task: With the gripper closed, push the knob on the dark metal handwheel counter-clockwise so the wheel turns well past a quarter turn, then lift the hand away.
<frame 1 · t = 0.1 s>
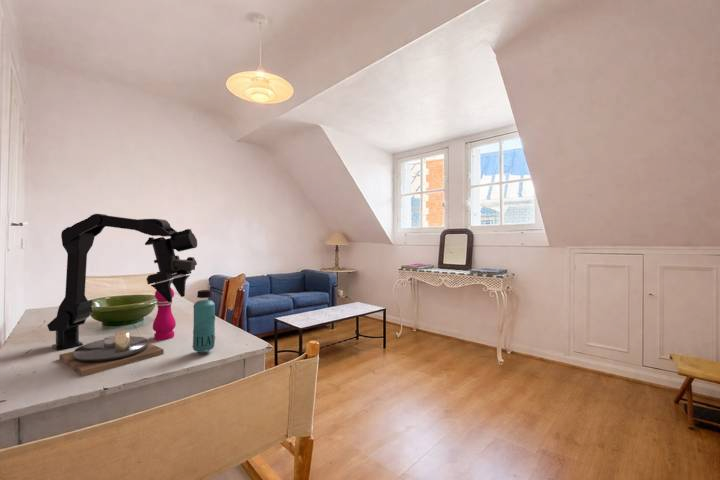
hand: (176, 299, 110), 15 cm above the table, tool pointing down, fingers open, 9 cm apart
handwheel: (112, 339, 98), point 5 cm above the table, hinge at 0.0°
beverage bottle: (203, 353, 103), on the table
wheel mount: (112, 356, 98), on the table
pepper mill: (164, 338, 117), on the table
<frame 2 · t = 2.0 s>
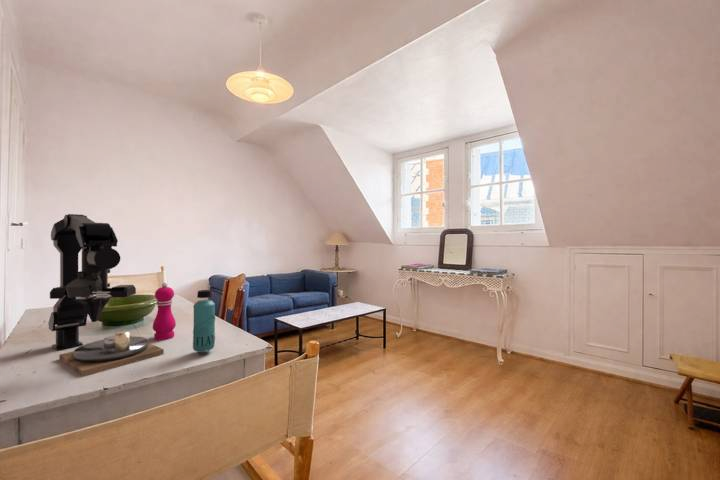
hand: (94, 321, 91), 13 cm above the table, tool pointing down, fingers closed
nothing on the table moved.
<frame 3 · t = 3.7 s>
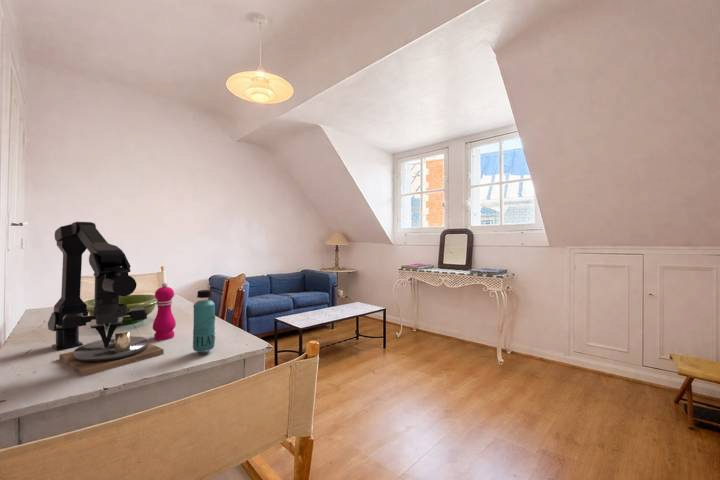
hand: (106, 347, 92), 5 cm above the table, tool pointing down, fingers closed
handwheel: (112, 339, 98), point 5 cm above the table, hinge at 0.8°, touching gripper
everything else where it was.
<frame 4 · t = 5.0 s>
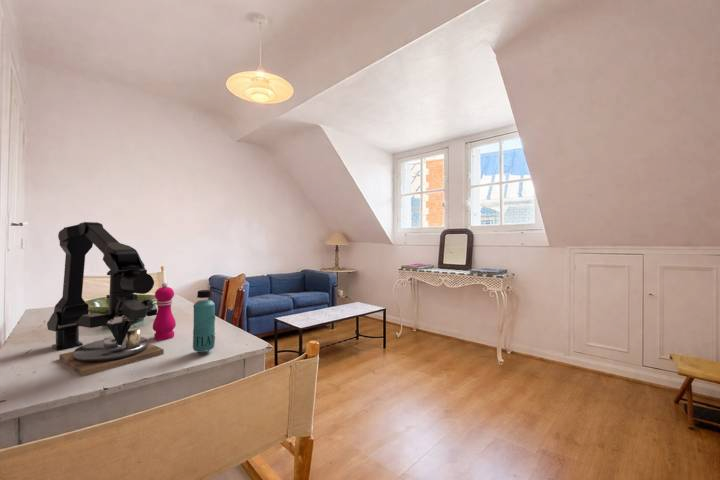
hand: (120, 344, 94), 5 cm above the table, tool pointing down, fingers closed
handwheel: (112, 339, 98), point 5 cm above the table, hinge at 25.8°, touching gripper
everything else where it was.
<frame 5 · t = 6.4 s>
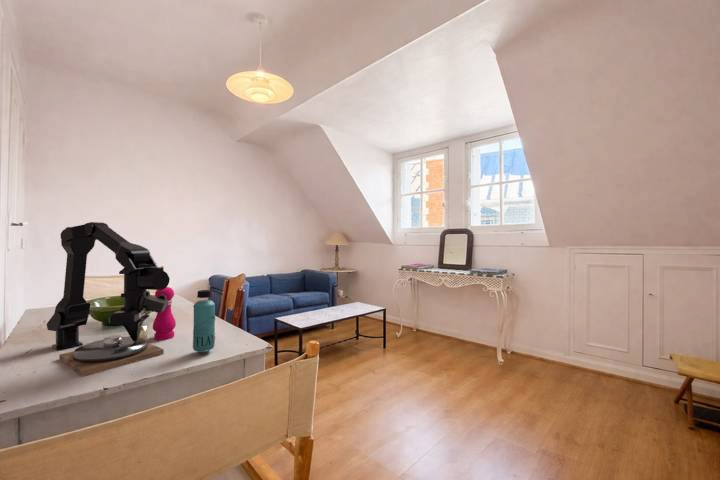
hand: (134, 340, 98), 5 cm above the table, tool pointing down, fingers closed
handwheel: (112, 339, 98), point 5 cm above the table, hinge at 59.5°, touching gripper
everything else where it was.
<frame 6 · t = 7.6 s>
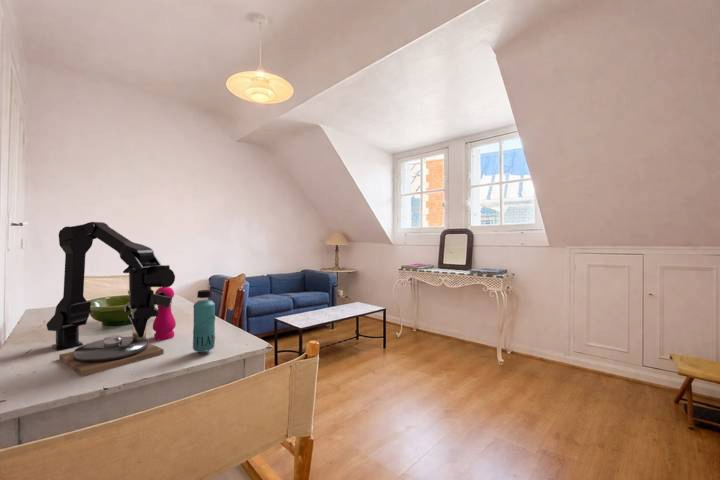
hand: (141, 336, 101), 5 cm above the table, tool pointing down, fingers closed
handwheel: (112, 339, 98), point 5 cm above the table, hinge at 87.6°, touching gripper
everything else where it was.
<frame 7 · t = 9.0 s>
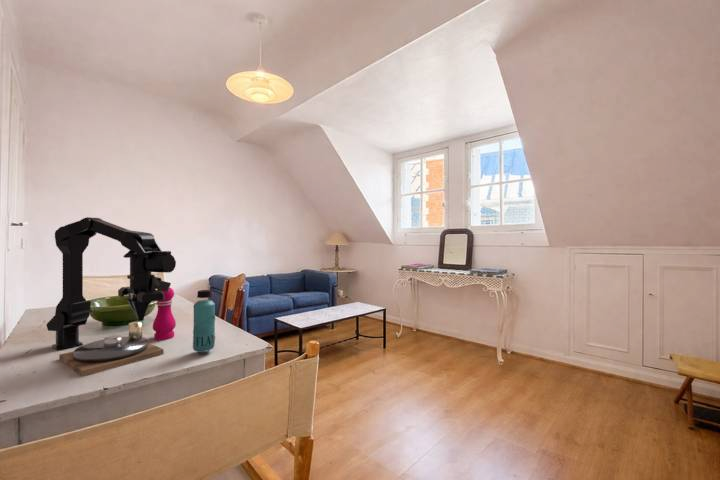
hand: (140, 320, 103), 10 cm above the table, tool pointing down, fingers closed
handwheel: (112, 339, 98), point 5 cm above the table, hinge at 105.2°
everything else where it was.
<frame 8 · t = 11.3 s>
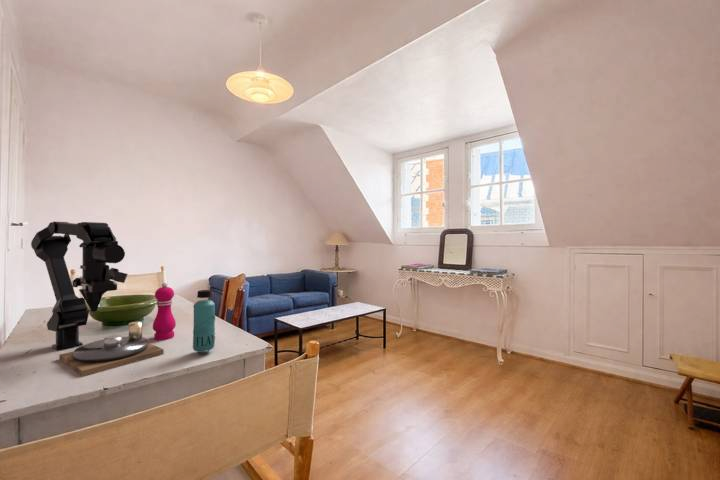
hand: (94, 311, 102), 13 cm above the table, tool pointing down, fingers closed
nothing on the table moved.
at the end: handwheel at +105° (first picture: +0°); pepper mill moved 0.2 cm from its start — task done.
